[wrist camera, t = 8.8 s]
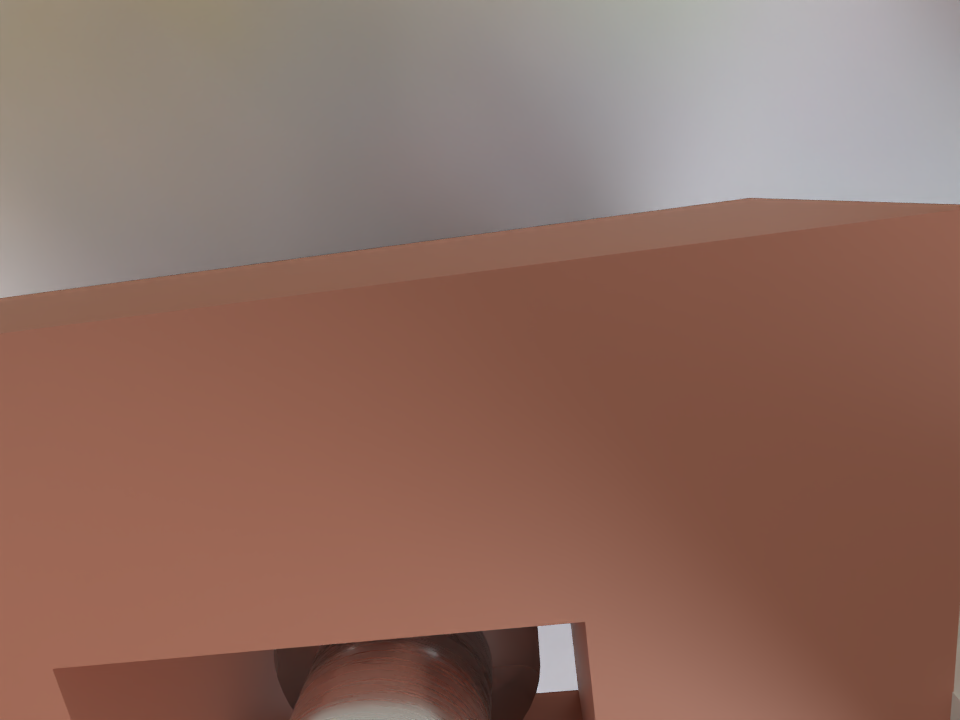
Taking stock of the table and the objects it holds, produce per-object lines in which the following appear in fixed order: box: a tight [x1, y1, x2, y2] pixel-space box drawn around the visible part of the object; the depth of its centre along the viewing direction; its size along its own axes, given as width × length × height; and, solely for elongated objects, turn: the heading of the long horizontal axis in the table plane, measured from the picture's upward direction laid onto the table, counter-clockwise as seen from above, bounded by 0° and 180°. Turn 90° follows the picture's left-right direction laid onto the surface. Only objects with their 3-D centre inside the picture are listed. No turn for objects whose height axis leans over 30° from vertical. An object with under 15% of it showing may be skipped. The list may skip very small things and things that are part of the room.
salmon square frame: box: [0, 198, 960, 720], centre depth 8 cm, size 10×10×4 cm
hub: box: [274, 626, 540, 720], centre depth 11 cm, size 7×7×10 cm
